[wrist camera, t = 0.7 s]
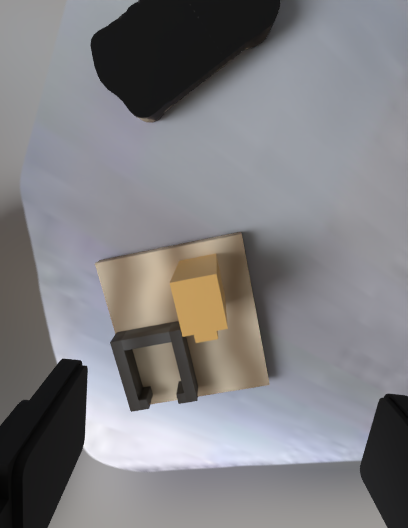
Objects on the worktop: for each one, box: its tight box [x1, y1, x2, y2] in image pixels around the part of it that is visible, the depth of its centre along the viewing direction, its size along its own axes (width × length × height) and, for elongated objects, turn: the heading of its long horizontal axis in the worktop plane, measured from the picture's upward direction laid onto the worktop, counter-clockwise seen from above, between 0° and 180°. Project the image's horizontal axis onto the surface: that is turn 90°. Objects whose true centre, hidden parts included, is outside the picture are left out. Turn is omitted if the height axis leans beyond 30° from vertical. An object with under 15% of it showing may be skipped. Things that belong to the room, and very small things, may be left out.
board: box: [95, 232, 270, 412], centre depth 37 cm, size 16×18×4 cm
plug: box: [170, 254, 228, 343], centre depth 33 cm, size 4×6×8 cm
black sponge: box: [91, 0, 280, 122], centre depth 31 cm, size 16×8×4 cm, turn 124°
